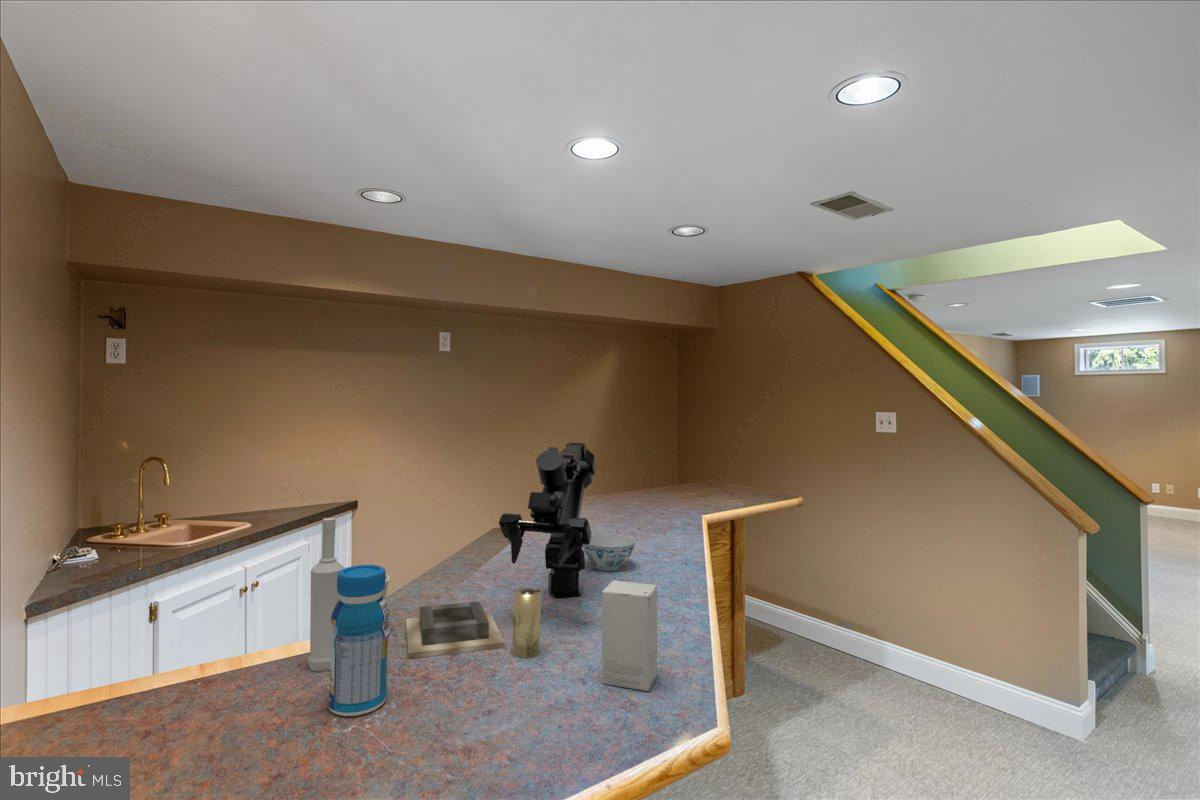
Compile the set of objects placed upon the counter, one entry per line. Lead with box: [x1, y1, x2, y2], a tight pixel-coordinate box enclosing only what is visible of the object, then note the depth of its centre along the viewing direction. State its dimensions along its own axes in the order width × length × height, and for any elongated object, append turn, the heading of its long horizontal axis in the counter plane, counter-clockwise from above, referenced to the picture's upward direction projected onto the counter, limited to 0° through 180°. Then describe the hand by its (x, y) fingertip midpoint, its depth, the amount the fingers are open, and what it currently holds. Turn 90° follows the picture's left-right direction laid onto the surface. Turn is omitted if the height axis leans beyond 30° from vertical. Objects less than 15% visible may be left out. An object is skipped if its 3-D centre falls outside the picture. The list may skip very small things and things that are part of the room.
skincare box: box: [601, 579, 658, 692], centre depth 96 cm, size 8×7×16 cm
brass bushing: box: [511, 587, 542, 659], centre depth 106 cm, size 5×5×11 cm
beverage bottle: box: [327, 564, 391, 717], centre depth 87 cm, size 8×8×20 cm
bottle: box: [307, 517, 345, 672], centre depth 99 cm, size 5×5×25 cm
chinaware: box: [582, 533, 636, 572], centre depth 162 cm, size 15×15×8 cm
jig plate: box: [405, 601, 505, 660], centre depth 113 cm, size 17×17×4 cm
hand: (535, 564), depth 114 cm, fingers open, 9 cm apart
